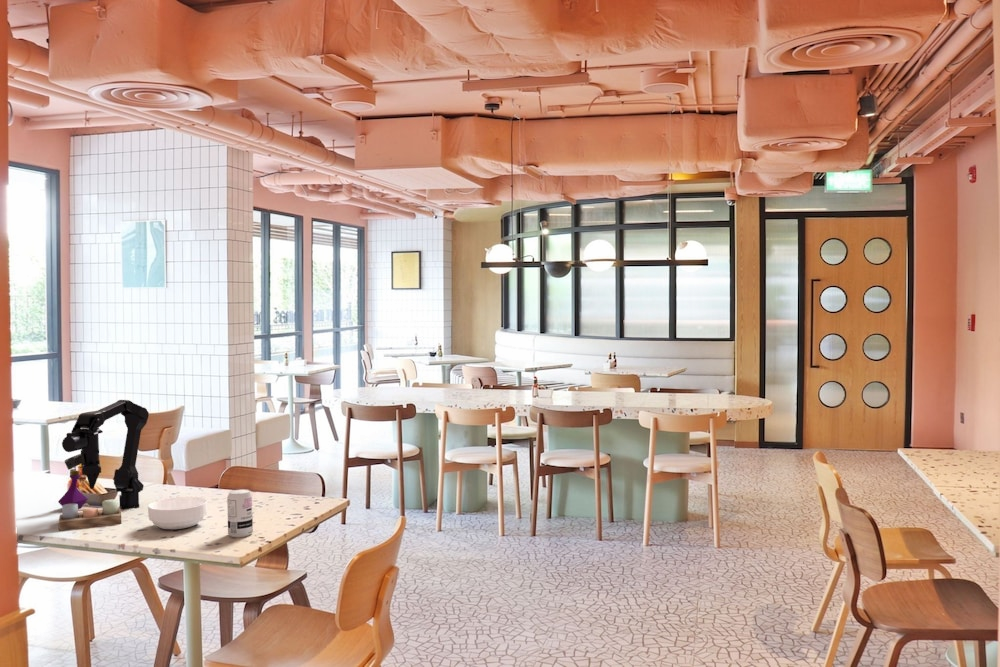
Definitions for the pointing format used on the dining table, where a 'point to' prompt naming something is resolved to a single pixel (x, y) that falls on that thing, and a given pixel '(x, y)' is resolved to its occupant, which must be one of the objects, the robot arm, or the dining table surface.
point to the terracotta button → (90, 512)
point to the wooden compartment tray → (89, 521)
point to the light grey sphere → (70, 511)
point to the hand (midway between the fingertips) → (91, 488)
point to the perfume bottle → (73, 492)
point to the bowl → (177, 512)
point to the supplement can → (240, 513)
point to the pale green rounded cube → (110, 507)
